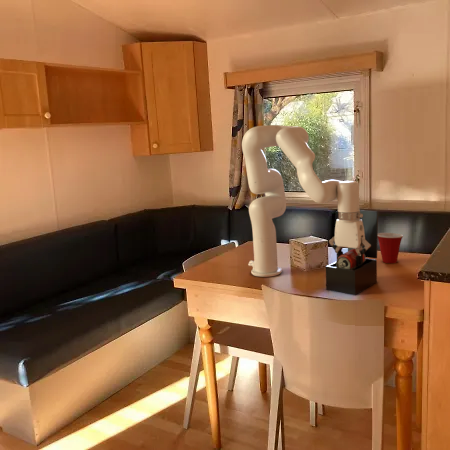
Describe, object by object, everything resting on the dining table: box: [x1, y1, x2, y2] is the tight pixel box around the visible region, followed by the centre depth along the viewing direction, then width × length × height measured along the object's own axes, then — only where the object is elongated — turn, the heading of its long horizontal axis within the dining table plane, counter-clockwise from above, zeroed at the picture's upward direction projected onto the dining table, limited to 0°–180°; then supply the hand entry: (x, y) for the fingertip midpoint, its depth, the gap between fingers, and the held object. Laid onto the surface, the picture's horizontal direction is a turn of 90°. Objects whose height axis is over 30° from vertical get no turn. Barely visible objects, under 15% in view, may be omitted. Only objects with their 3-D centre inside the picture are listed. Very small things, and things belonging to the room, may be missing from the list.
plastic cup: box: [378, 232, 404, 264], centre depth 209 cm, size 11×11×12 cm
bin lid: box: [347, 209, 379, 259], centre depth 186 cm, size 17×12×1 cm
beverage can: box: [335, 248, 367, 270], centre depth 180 cm, size 7×12×7 cm, turn 141°
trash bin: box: [325, 257, 378, 296], centre depth 182 cm, size 17×12×9 cm
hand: (349, 263), depth 180 cm, fingers closed on beverage can, 7 cm apart
